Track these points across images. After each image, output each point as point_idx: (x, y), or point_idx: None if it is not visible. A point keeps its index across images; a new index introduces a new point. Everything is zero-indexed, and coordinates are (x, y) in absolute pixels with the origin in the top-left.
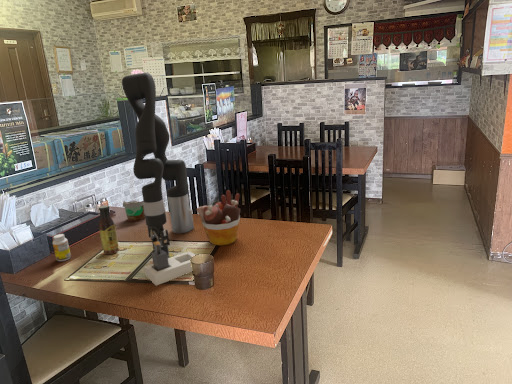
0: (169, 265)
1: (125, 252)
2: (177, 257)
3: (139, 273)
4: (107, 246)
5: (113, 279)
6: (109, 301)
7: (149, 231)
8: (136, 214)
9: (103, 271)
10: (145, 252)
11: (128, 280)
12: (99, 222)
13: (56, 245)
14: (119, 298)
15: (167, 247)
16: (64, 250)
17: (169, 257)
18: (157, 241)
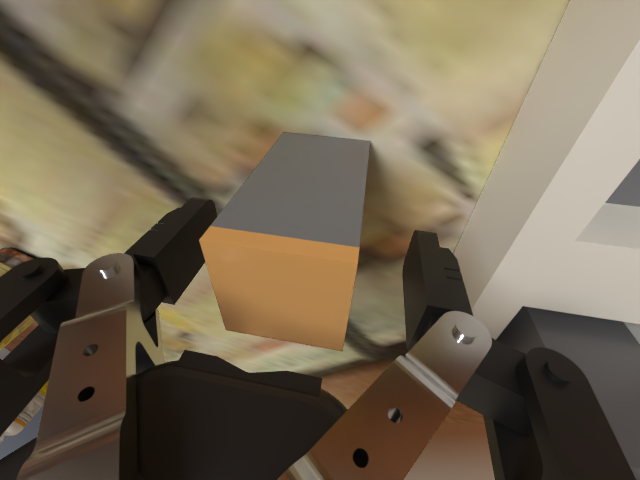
0: (610, 314)
1: (58, 241)
2: (599, 207)
3: (360, 315)
4: (27, 324)
5: (322, 367)
6: (459, 421)
7: (28, 400)
8: None
9: (228, 353)
10: (98, 176)
11: (381, 356)
12: None
13: (25, 425)
14: (476, 411)
15: (361, 219)
16: (40, 392)
17: (368, 155)
18: (235, 305)
